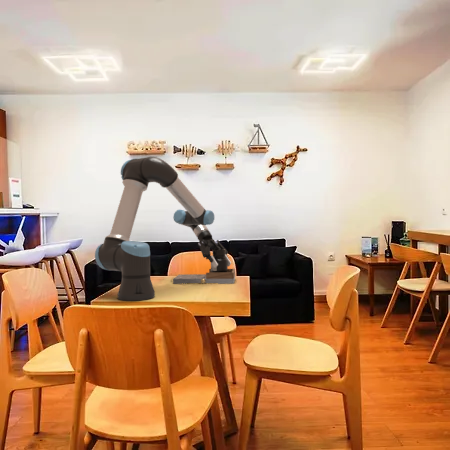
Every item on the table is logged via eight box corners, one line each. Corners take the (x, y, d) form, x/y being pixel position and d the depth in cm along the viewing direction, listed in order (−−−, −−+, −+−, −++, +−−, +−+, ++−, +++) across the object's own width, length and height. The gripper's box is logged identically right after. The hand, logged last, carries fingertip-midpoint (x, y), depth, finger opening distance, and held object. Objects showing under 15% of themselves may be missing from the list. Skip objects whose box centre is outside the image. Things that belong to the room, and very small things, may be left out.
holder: (233, 278, 194) (233, 272, 194) (206, 278, 195) (206, 272, 195) (235, 274, 210) (234, 268, 210) (209, 274, 211) (209, 268, 211)
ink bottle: (210, 271, 207) (210, 248, 207) (227, 270, 208) (226, 248, 208) (211, 273, 198) (210, 250, 197) (228, 273, 198) (228, 250, 198)
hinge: (233, 283, 193) (233, 278, 193) (172, 284, 195) (172, 278, 195) (235, 278, 211) (235, 273, 211) (179, 278, 213) (179, 273, 213)
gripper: (214, 238, 221) (234, 268, 209) (184, 240, 206) (204, 272, 195) (220, 229, 217) (241, 259, 206) (190, 230, 202) (210, 262, 191)
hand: (223, 265), depth 200 cm, fingers closed on ink bottle, 9 cm apart
